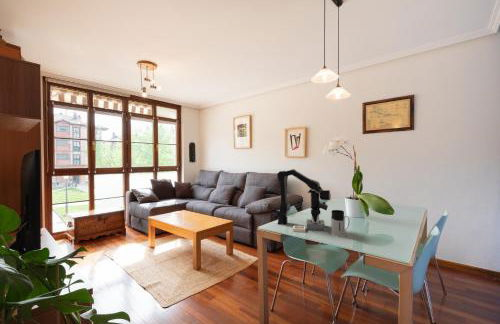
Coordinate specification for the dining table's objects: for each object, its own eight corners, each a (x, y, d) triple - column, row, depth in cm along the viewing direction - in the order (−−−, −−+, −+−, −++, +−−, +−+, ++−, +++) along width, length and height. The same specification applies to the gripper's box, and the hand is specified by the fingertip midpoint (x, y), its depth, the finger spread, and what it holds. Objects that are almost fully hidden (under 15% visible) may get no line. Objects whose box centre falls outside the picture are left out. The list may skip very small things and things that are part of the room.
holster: (293, 231, 158) (292, 228, 158) (293, 228, 165) (293, 225, 165) (305, 232, 156) (305, 229, 156) (305, 229, 163) (305, 226, 163)
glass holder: (338, 231, 156) (338, 209, 156) (355, 238, 143) (354, 213, 142) (327, 233, 153) (327, 210, 153) (343, 240, 140) (343, 215, 139)
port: (306, 229, 161) (306, 223, 161) (306, 224, 173) (306, 218, 173) (325, 230, 159) (324, 223, 158) (323, 225, 170) (323, 219, 170)
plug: (311, 226, 165) (311, 213, 165) (311, 224, 168) (311, 212, 168) (319, 226, 164) (319, 213, 163) (319, 224, 167) (318, 212, 167)
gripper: (328, 202, 154) (328, 225, 155) (325, 197, 173) (326, 218, 173) (310, 201, 157) (311, 224, 157) (310, 196, 175) (310, 217, 176)
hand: (315, 221), depth 166 cm, fingers closed on plug, 3 cm apart
